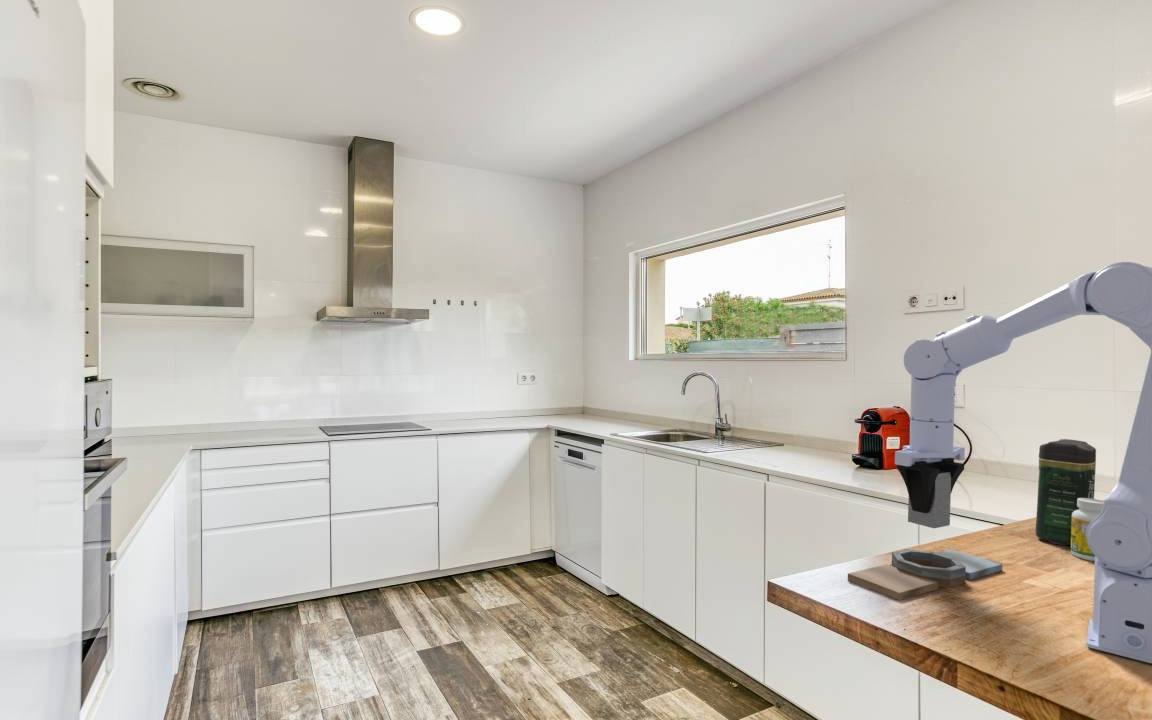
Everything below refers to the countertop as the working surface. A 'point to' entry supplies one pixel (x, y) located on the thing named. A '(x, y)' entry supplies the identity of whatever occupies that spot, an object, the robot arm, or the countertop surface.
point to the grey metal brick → (935, 504)
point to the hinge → (923, 572)
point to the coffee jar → (1063, 486)
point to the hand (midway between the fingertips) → (929, 510)
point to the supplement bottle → (1083, 526)
